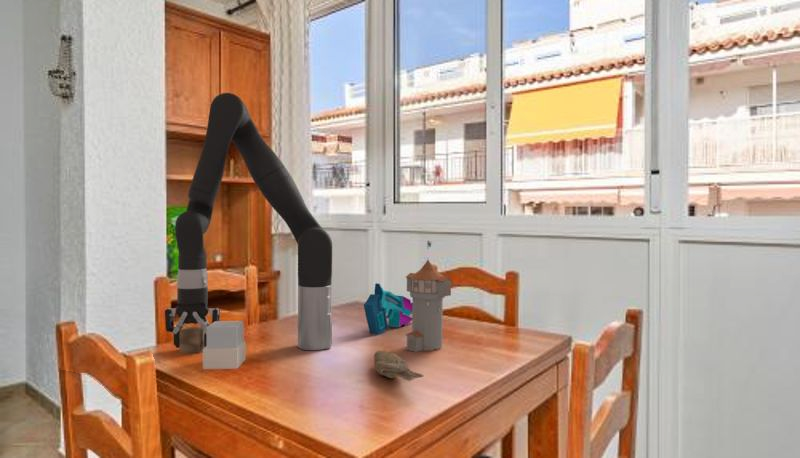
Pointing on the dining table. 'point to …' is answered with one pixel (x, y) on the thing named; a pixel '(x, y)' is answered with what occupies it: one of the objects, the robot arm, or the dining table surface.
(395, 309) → the toy gun
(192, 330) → the walnut block
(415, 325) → the model building
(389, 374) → the sculpture
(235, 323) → the tower top
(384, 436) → the dining table surface
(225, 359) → the tower base
